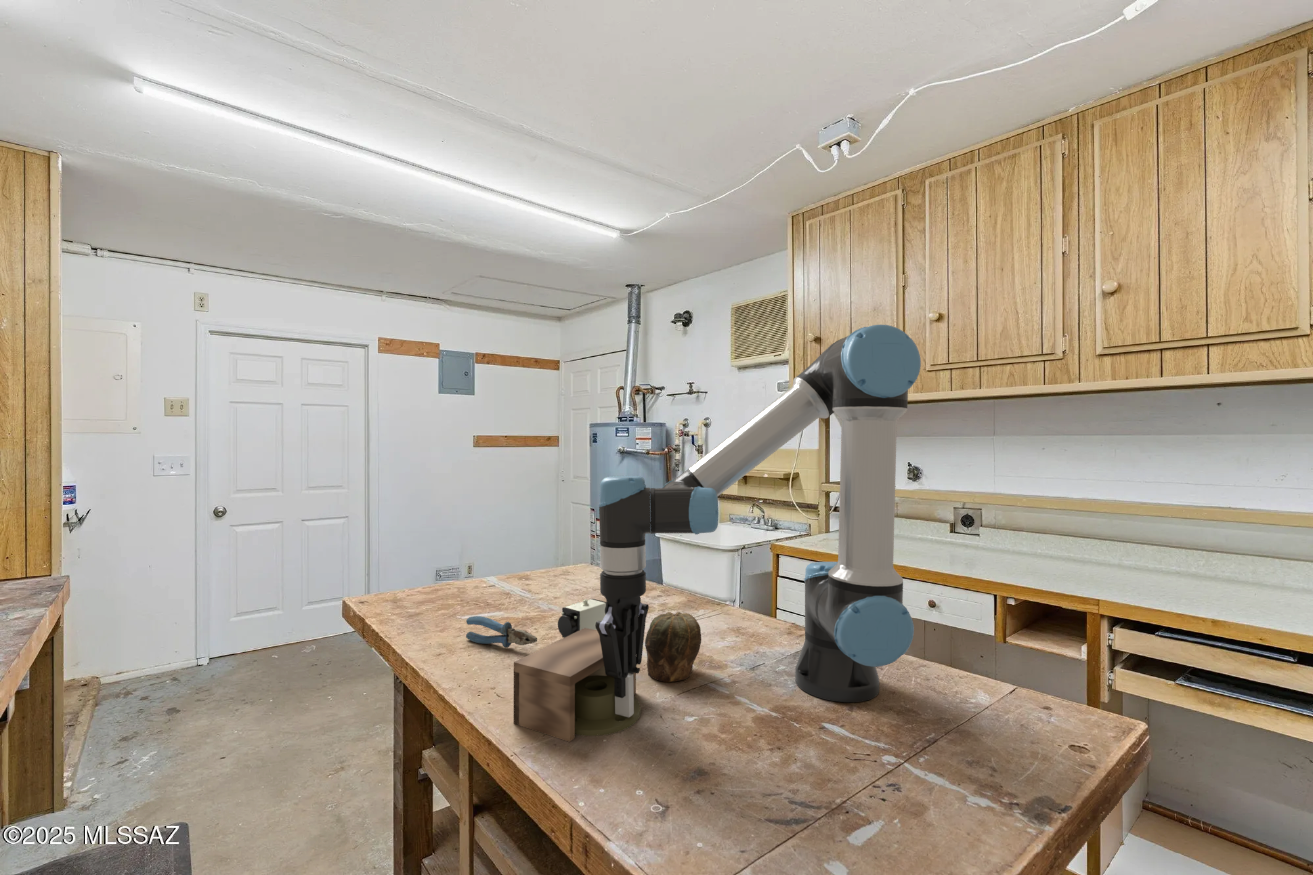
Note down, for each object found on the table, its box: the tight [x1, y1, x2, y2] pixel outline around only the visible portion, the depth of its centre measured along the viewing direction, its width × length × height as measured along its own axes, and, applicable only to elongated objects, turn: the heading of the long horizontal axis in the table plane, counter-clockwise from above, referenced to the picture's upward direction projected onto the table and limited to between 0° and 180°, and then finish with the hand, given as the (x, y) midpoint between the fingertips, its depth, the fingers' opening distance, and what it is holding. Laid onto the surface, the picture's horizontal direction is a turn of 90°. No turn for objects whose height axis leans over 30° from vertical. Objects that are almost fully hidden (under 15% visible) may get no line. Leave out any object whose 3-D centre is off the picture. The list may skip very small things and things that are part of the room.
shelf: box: [513, 628, 637, 743], centre depth 100 cm, size 12×19×10 cm, turn 151°
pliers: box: [465, 615, 538, 649], centre depth 128 cm, size 20×2×6 cm, turn 61°
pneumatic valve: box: [557, 598, 606, 639], centre depth 123 cm, size 6×12×12 cm, turn 141°
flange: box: [575, 675, 641, 737], centre depth 98 cm, size 5×15×15 cm
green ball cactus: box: [644, 611, 702, 683], centre depth 114 cm, size 11×11×12 cm
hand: (624, 713), depth 95 cm, fingers closed
